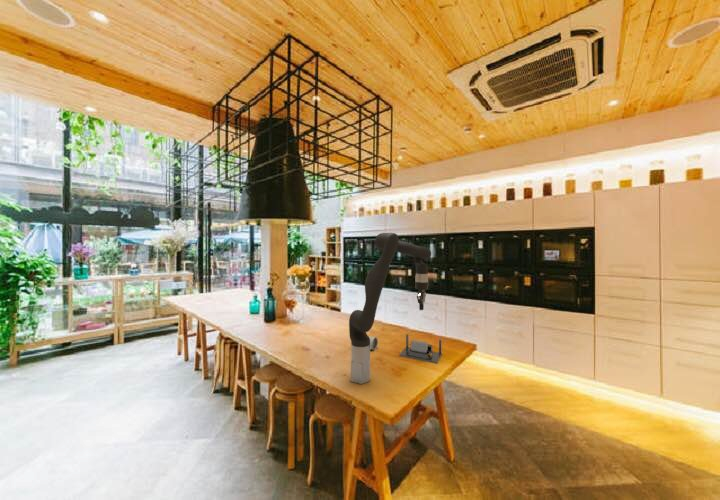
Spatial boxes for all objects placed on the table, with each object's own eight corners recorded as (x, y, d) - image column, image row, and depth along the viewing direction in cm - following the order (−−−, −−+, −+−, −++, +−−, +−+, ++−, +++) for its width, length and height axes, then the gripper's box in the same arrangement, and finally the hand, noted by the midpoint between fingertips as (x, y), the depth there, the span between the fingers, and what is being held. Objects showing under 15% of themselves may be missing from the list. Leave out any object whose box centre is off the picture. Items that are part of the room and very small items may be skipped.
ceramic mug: (366, 345, 176) (366, 333, 175) (378, 347, 172) (378, 335, 171) (358, 351, 166) (358, 338, 166) (370, 353, 162) (370, 341, 162)
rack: (437, 363, 148) (437, 347, 148) (399, 356, 158) (399, 340, 158) (441, 354, 161) (441, 339, 161) (406, 348, 171) (406, 334, 171)
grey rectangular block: (426, 358, 153) (426, 344, 153) (411, 355, 157) (411, 341, 157) (427, 356, 156) (427, 342, 156) (412, 353, 160) (412, 340, 160)
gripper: (425, 282, 152) (425, 313, 153) (430, 280, 164) (430, 308, 164) (412, 281, 156) (412, 311, 156) (418, 279, 168) (418, 307, 168)
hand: (421, 309), depth 160 cm, fingers closed
